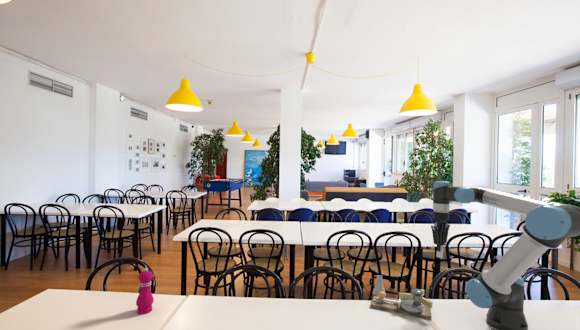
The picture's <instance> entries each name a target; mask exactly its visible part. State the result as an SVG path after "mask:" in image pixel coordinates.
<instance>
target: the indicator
mask: <svg viewBox="0 0 580 330" xmlns="http://www.w3.org/2000/svg"><path fill="white" fill-rule="evenodd" d="M385 293H386V292H385ZM385 293H384V292H383V291H380V292H379V293H378V296H379V298H381V299H380V300H381V301H386V302H391V303H394V304H397V305H398V308H400V302H401V300H402V299H399V298H398V299H399V301H395V300H390V299H385V297H386V296H385Z"/></svg>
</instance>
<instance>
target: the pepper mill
mask: <svg viewBox="0 0 580 330" xmlns="http://www.w3.org/2000/svg"><path fill="white" fill-rule="evenodd" d="M153 278H154V274H153V272H152V271H151V270H149V268H148V267H144V268H143V271H141V272H140V273H139V275H138V281H139V287H140V288H139V294H138V296H137V298H136V301H135V305H136V308H137V309H136V312H137V314H138V315H146V314H149V313H151V312H152V310H153V304H154V297H153V293H152V291H151V285H152V279H153Z"/></svg>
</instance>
